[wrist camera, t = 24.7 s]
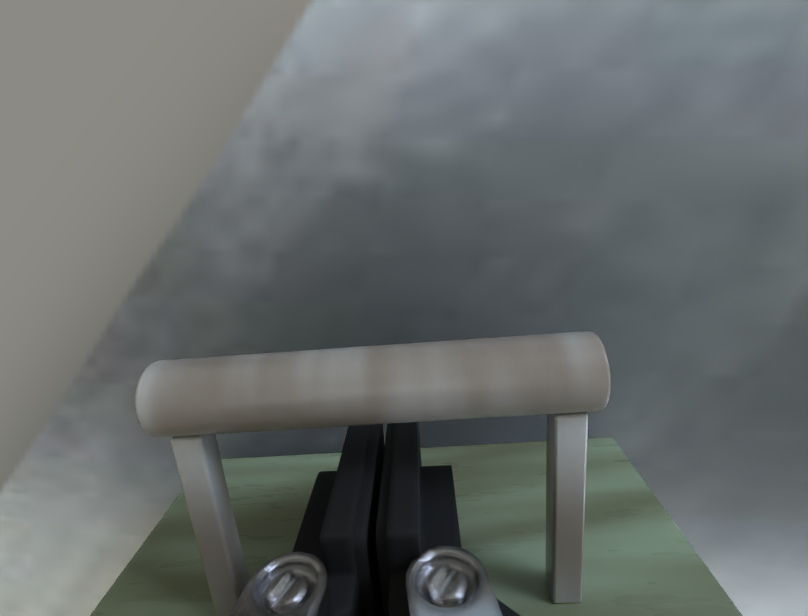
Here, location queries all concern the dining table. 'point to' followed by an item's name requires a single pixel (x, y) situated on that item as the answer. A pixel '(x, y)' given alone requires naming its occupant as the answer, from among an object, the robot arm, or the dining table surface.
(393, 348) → the drawer
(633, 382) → the dining table surface
